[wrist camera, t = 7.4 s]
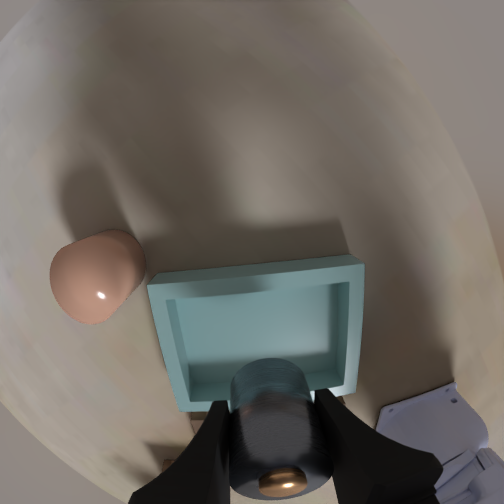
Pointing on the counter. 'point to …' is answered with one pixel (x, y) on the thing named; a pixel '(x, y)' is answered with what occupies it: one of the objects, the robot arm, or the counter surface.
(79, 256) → the peach glossy rounded part
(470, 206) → the counter surface
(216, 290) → the teal tray
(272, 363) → the cell
